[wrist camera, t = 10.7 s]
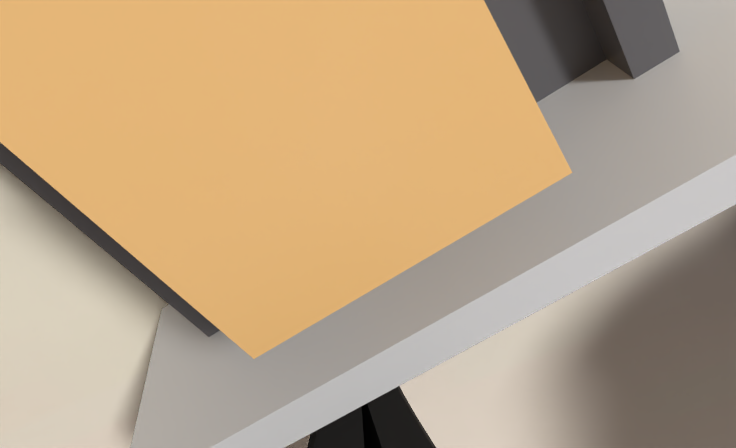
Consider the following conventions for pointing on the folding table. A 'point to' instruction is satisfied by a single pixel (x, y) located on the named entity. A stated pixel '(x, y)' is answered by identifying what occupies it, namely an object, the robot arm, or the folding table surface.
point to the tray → (490, 241)
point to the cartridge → (273, 140)
